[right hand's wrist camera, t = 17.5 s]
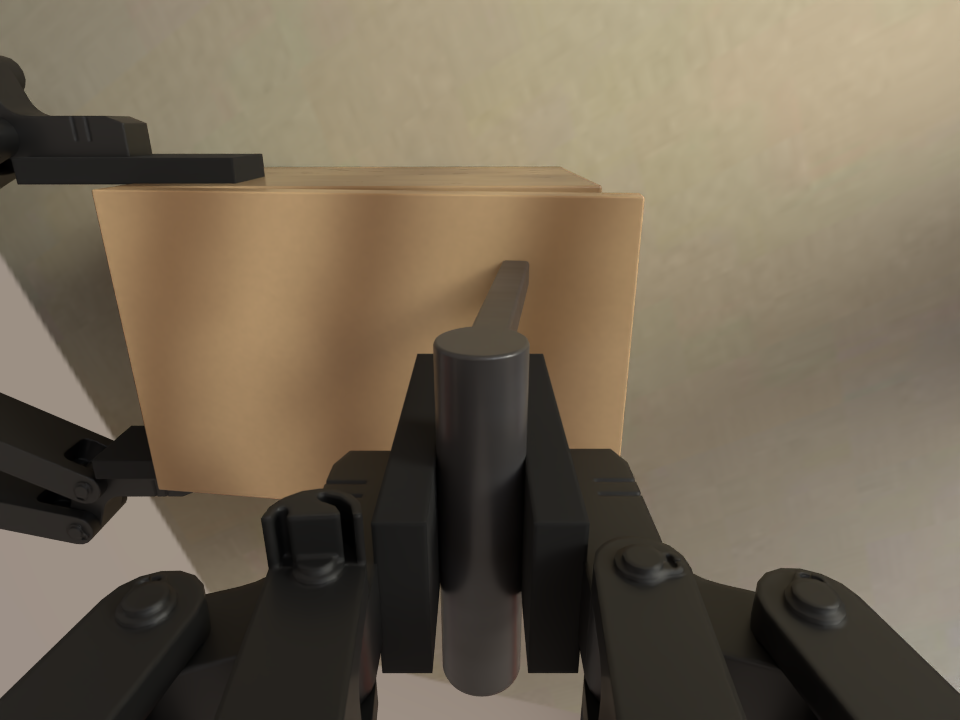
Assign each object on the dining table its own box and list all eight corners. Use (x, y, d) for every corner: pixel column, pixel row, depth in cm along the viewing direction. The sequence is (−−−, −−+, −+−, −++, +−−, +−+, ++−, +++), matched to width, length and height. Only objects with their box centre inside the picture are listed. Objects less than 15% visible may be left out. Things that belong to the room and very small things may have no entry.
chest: (561, 166, 26) (602, 185, 17) (551, 374, 29) (582, 472, 21) (229, 167, 25) (112, 186, 17) (258, 375, 29) (173, 474, 21)
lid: (640, 193, 15) (714, 260, 8) (611, 508, 19) (642, 775, 11) (113, 186, 17) (-258, 235, 9) (174, 475, 21) (-61, 684, 13)
